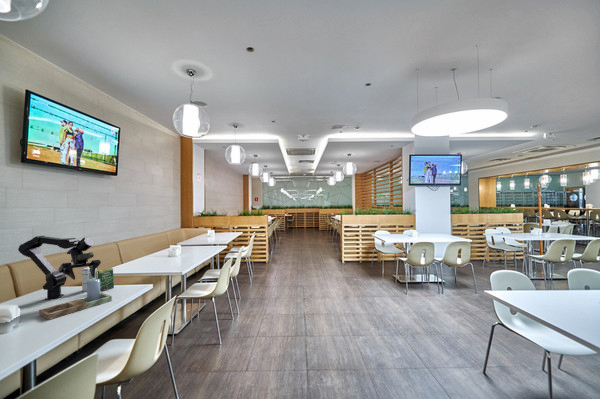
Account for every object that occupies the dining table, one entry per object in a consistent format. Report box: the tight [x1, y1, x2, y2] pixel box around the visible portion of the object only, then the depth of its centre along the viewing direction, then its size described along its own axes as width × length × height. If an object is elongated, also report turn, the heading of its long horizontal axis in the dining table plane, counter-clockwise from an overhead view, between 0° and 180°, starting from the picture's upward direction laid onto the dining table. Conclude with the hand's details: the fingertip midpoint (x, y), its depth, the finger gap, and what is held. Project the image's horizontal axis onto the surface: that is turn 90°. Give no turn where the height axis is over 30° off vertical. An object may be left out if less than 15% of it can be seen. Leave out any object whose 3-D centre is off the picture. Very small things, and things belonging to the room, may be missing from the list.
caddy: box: [38, 292, 113, 321], centre depth 140 cm, size 27×12×2 cm, turn 149°
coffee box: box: [97, 267, 115, 292], centre depth 168 cm, size 8×3×13 cm, turn 146°
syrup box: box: [80, 266, 98, 292], centre depth 169 cm, size 6×6×14 cm
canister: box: [86, 278, 102, 303], centre depth 146 cm, size 6×6×12 cm
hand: (84, 277), depth 149 cm, fingers open, 9 cm apart
